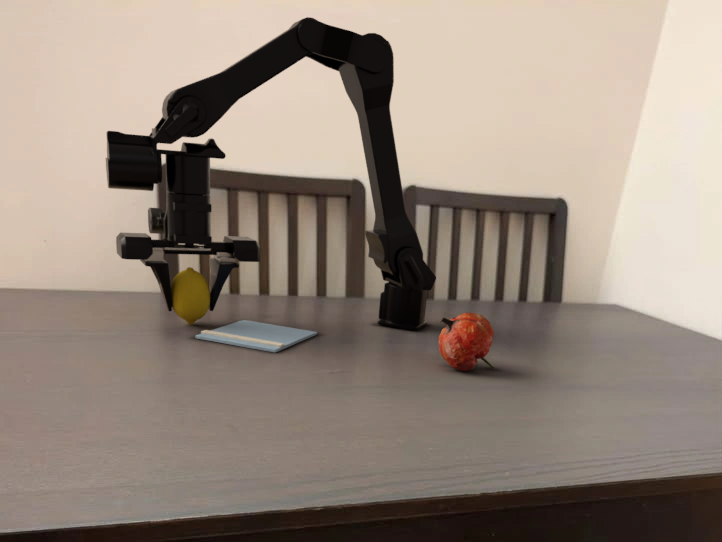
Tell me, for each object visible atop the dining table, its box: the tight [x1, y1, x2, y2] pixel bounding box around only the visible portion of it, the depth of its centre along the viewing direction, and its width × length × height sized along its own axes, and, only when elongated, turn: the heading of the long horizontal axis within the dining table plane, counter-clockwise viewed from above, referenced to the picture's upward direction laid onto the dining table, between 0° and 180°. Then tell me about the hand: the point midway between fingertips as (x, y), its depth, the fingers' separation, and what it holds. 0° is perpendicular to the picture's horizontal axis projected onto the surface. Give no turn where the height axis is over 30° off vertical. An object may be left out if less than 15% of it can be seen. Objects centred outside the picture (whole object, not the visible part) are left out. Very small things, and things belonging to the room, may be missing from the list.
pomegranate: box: [438, 312, 495, 372], centre depth 93 cm, size 7×7×10 cm
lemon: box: [170, 266, 210, 326], centre depth 103 cm, size 6×6×8 cm
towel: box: [194, 319, 318, 354], centre depth 101 cm, size 12×13×1 cm
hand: (190, 310), depth 104 cm, fingers closed on lemon, 5 cm apart
